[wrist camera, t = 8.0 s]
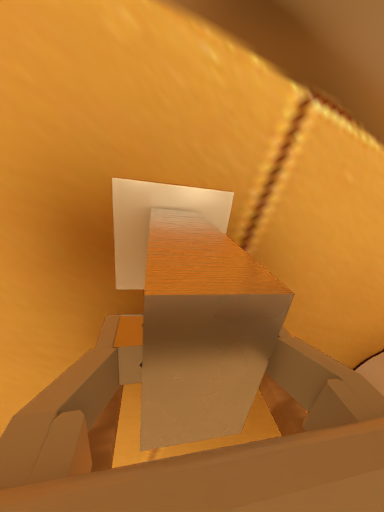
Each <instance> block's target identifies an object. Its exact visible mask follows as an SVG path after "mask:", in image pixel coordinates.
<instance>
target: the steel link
mask: <svg viewBox="0 0 384 512" xmlns="http://www.w3.org/2000/svg"><path fill="white" fill-rule="evenodd" d="M293 297H294V293H293V292H292V291H291V290H289V289H288V288H287V287H286V286H285V285H284V284H282V283H281V282H280V281H279V280H278V279H277V278H275V277H274V276H273V275H272V274H271V273H270V272H268V271H267V270H266V269H265V268H264V267H263V266H261V265H260V264H259V263H258V262H257V261H256V260H255V259H253V258H252V257H251V256H250V255H249V254H248V253H246V252H245V251H244V250H243V249H242V248H241V247H239V246H238V245H237V244H236V243H235V242H234V241H232V240H231V239H230V238H229V237H228V236H227V235H225V234H224V233H223V232H222V231H221V230H220V229H218V228H217V227H216V226H215V225H214V224H213V223H211V222H210V221H209V220H208V219H207V218H206V217H204V216H203V215H202V214H201V213H200V212H194V211H183V210H172V209H160V208H151V212H150V225H149V237H148V250H147V263H146V276H145V289H144V315H143V354H142V392H141V430H140V451H145V450H150V449H156V448H161V447H167V446H172V445H178V444H184V443H189V442H195V441H200V440H206V439H212V438H217V437H223V436H228V435H234V434H239V433H241V431H242V429H243V426H244V424H245V421H246V419H247V416H248V413H249V411H250V408H251V406H252V403H253V400H254V398H255V395H256V393H257V390H258V387H259V385H260V382H261V380H262V377H263V375H264V372H265V369H266V367H267V364H268V362H269V359H270V356H271V354H272V351H273V349H274V346H275V343H276V341H277V338H278V336H279V333H280V331H281V328H282V325H283V323H284V320H285V318H286V315H287V312H288V310H289V307H290V305H291V302H292V300H293Z"/></svg>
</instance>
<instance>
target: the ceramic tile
mask: <svg viewBox="0 0 384 512" xmlns="http://www.w3.org/2000/svg"><path fill="white" fill-rule="evenodd" d="M112 194H113V221H114V248H115V275H116V289H122V290H144V289H145V276H146V263H147V250H148V237H149V225H150V212H151V208H160V209H172V210H183V211H194V212H200V213H201V214H202V215H203V216H204V217H206V218H207V219H208V220H209V221H210V222H211V223H213V224H214V225H215V226H216V227H217V228H218V229H220V230H221V231H222V232H223V233H224V234H225V235H226V232H227V227H228V222H229V217H230V212H231V207H232V202H233V197H234V192H230V191H222V190H214V189H206V188H198V187H189V186H181V185H173V184H165V183H157V182H149V181H140V180H132V179H124V178H116V177H112Z"/></svg>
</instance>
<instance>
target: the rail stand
mask: <svg viewBox="0 0 384 512" xmlns="http://www.w3.org/2000/svg"><path fill="white" fill-rule="evenodd" d="M259 389H260V391H261V393H262V395H263V397H264V399H265V401H266V403H267V405H268V407H269V409H270V411H271V414H272V416H273V418H274V420H275V422H276V424H277V426H278V428H279V430H280V432H281V434H282V436H286V435H291V434H297V433H302V432H306V431H305V430H304V428H303V421H304V419H305V418H306V416H307V414H306V412H305V411H304V409H303V408H302V406H301V405H300V404H299V403H298V402H297V401H296V400H295V399H294V398H292V397H291V396H290V395H289V394H288V393H287V392H286V391H285V390H284V389H283V388H282V387H281V386H280V385H279V384H277V383H276V382H275V381H274V380H273V379H272V378H271V377H270V376H269V375H268V374H267V373H266V372H264V375H263V377H262V380H261V382H260V385H259ZM122 392H123V385H119V388H118V389H117V391H116V392H115V393H114V395H113V396H112V398H111V399H110V401H109V402H108V404H107V405H106V407H105V408H104V410H103V411H102V413H101V414H100V415H99V417H98V418H97V420H96V421H95V423H94V424H93V426H92V427H91V429H90V430H89V432H88V433H87V434H88V440H89V447H90V453H91V459H92V468H91V472H96V471H101V470H106V469H111V468H112V462H113V455H114V448H115V441H116V434H117V427H118V420H119V413H120V406H121V399H122Z"/></svg>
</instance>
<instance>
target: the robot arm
mask: <svg viewBox="0 0 384 512" xmlns="http://www.w3.org/2000/svg"><path fill="white" fill-rule="evenodd" d="M143 315H144V314H121V315H107V316H106V317H105V320H104V323H103V326H102V329H101V332H100V335H99V338H98V341H97V344H96V347H95V349H90V350H89V351H88V352H87V353H86V354H84V355H83V356H82V357H81V358H80V359H79V360H77V361H76V362H75V363H74V364H73V365H72V366H71V367H69V368H68V369H67V370H66V371H65V372H64V373H62V374H61V375H60V376H59V377H58V378H57V379H56V380H54V381H53V382H52V383H51V384H50V385H49V386H47V387H46V388H45V389H44V390H43V391H42V392H41V393H39V394H38V395H37V396H36V397H35V398H34V399H32V400H31V401H30V402H29V403H28V404H27V405H26V406H24V407H23V408H22V409H21V410H20V411H19V412H18V413H16V414H15V415H14V416H13V417H12V419H11V421H10V422H9V424H8V426H7V427H6V429H5V431H4V433H3V434H2V436H1V438H0V512H384V352H382V353H381V354H379V355H377V356H375V357H373V358H371V359H370V360H368V361H366V362H365V363H363V364H362V365H361V366H360V367H358V368H357V369H356V370H355V371H354V370H352V369H350V368H349V367H347V366H345V365H343V364H342V363H340V362H338V361H337V360H335V359H333V358H331V357H330V356H328V355H326V354H324V353H323V352H321V351H319V350H317V349H316V348H314V347H312V346H310V345H309V344H307V343H305V342H303V341H302V340H300V339H298V338H296V337H292V336H291V335H290V334H289V333H288V332H287V330H286V329H285V328H284V327H283V326H282V328H281V331H280V333H279V336H278V338H277V341H276V343H275V346H274V349H273V351H272V354H271V356H270V359H269V362H268V364H267V367H266V369H265V372H266V373H267V374H268V375H269V376H270V377H271V378H272V379H273V380H274V381H275V382H276V383H277V384H279V385H280V386H281V387H282V388H283V389H284V390H285V391H286V392H287V393H288V394H289V395H290V396H291V397H292V398H294V399H295V400H296V401H297V402H298V403H299V404H300V405H301V406H302V407H303V408H304V409H305V410H306V411H308V412H309V413H308V414H307V416H306V418H305V419H304V421H303V428H304V430H305V431H306V432H302V433H297V434H291V435H286V436H281V437H276V438H270V439H265V440H260V441H254V442H249V443H244V444H238V445H233V446H228V447H223V448H217V449H212V450H207V451H201V452H196V453H191V454H185V455H180V456H175V457H170V458H164V459H159V460H154V461H148V462H143V463H138V464H133V465H127V466H122V467H117V468H111V469H106V470H101V471H96V472H91V468H92V459H91V453H90V447H89V440H88V434H87V433H88V432H89V430H90V429H91V427H92V426H93V424H94V423H95V421H96V420H97V418H98V417H99V415H100V414H101V413H102V411H103V410H104V408H105V407H106V405H107V404H108V402H109V401H110V399H111V398H112V396H113V395H114V393H115V392H116V391H117V389H118V388H119V385H125V384H133V383H140V382H142V354H143Z"/></svg>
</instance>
